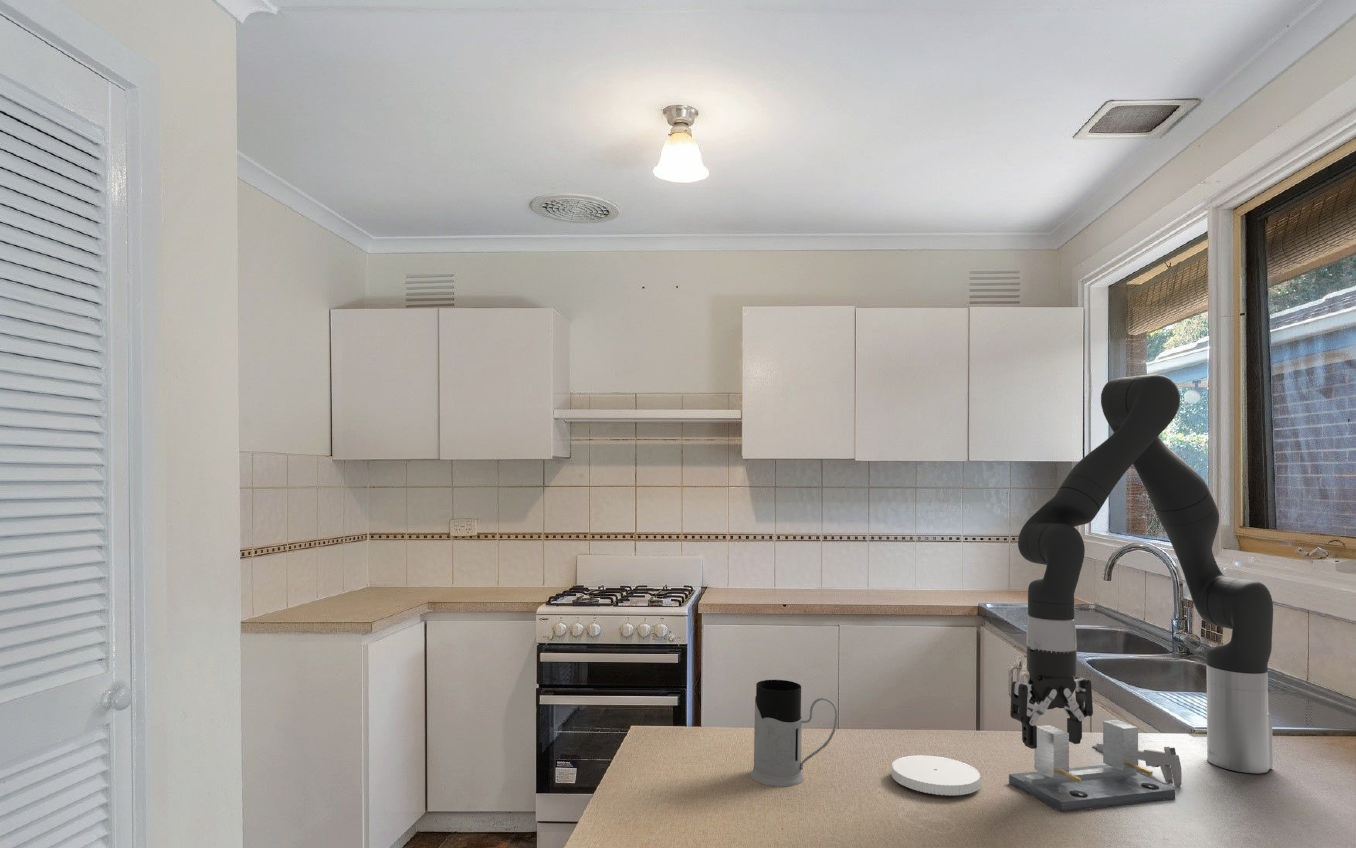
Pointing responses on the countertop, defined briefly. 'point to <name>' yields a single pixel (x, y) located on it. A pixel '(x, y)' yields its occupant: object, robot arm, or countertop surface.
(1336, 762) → the countertop surface
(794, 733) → the glass holder
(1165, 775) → the caliper
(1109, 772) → the hole plate
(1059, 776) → the leg
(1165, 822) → the countertop surface
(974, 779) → the plastic lid
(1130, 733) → the fixed leg
